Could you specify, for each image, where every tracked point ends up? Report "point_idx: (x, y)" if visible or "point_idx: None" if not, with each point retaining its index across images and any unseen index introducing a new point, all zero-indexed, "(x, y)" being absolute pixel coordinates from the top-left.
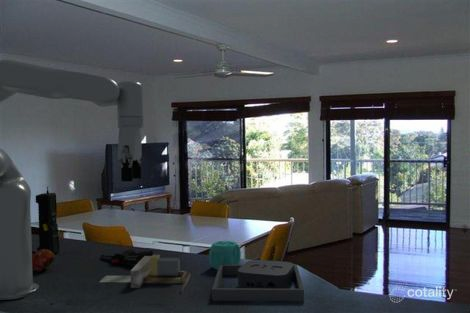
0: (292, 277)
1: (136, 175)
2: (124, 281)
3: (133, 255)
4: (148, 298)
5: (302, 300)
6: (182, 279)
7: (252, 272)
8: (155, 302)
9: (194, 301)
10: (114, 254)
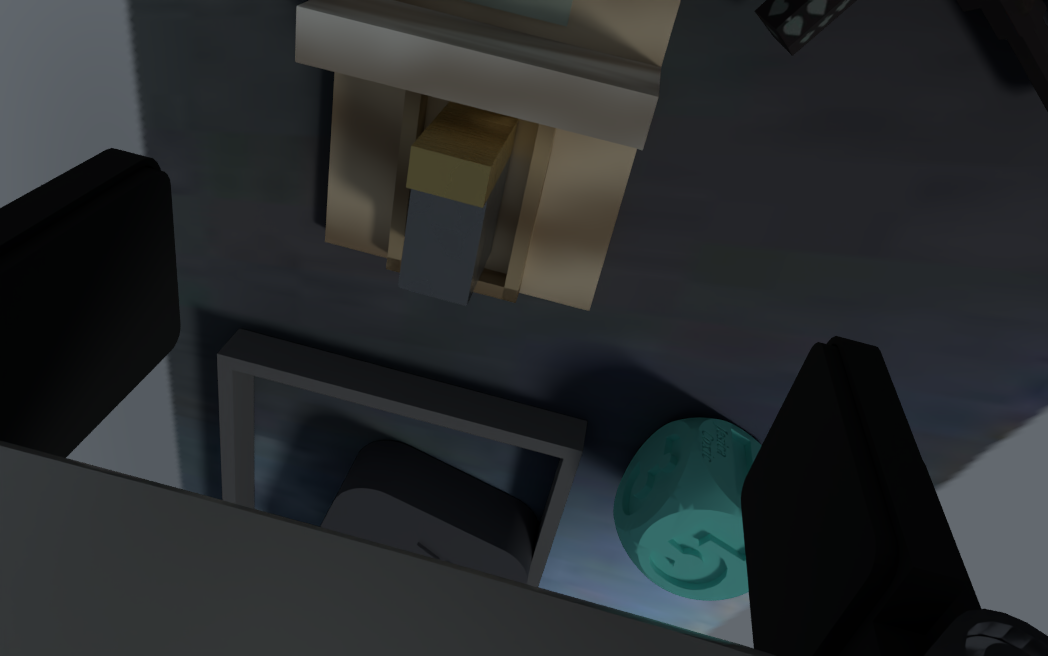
0: None
1: (771, 471)
2: None
3: None
4: (261, 78)
5: None
6: (387, 262)
7: (335, 523)
8: (209, 110)
9: (230, 267)
10: None
